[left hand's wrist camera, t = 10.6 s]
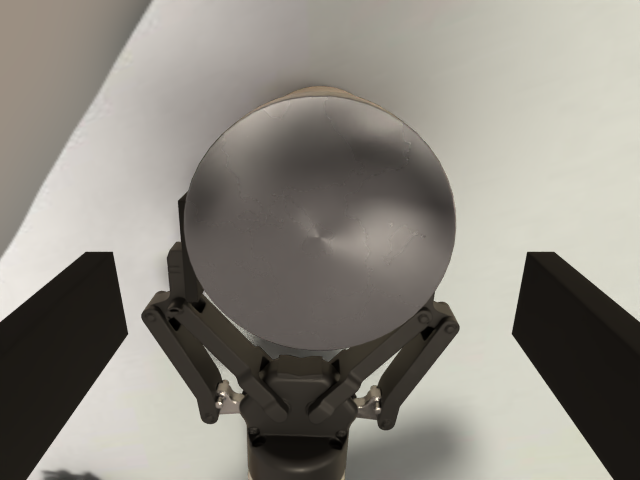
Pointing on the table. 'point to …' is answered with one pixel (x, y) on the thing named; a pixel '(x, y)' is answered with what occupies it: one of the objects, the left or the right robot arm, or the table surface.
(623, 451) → the left robot arm
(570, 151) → the table surface
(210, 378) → the right robot arm
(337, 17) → the table surface
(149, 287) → the table surface
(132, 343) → the table surface
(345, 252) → the lid
